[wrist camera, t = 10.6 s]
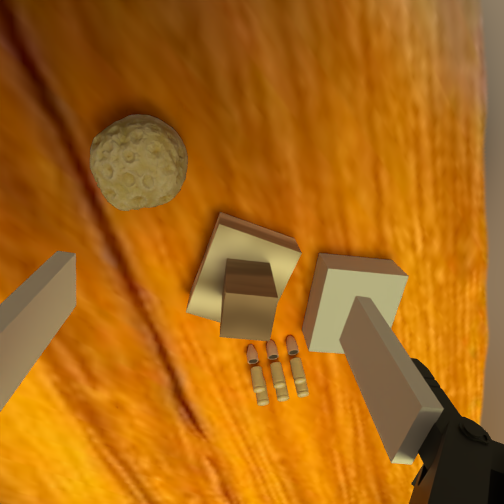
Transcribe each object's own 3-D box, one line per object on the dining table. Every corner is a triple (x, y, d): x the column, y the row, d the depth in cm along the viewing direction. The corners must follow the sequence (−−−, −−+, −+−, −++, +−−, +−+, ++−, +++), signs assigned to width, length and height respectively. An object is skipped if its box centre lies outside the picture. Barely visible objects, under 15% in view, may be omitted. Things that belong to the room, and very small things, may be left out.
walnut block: (226, 258, 40) (225, 292, 33) (269, 262, 41) (278, 297, 33) (221, 296, 42) (219, 336, 35) (263, 300, 43) (269, 341, 35)
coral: (185, 112, 38) (175, 114, 31) (193, 195, 42) (186, 214, 35) (98, 115, 38) (69, 118, 31) (115, 199, 42) (92, 219, 35)
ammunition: (310, 399, 49) (300, 354, 46) (258, 410, 50) (245, 366, 47) (304, 374, 54) (294, 332, 51) (256, 385, 54) (244, 343, 51)
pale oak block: (220, 211, 43) (219, 224, 39) (294, 237, 45) (301, 253, 41) (190, 291, 47) (185, 312, 43) (259, 313, 49) (262, 334, 45)
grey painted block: (318, 252, 46) (328, 268, 41) (391, 259, 47) (408, 276, 42) (301, 328, 51) (308, 351, 46) (368, 333, 52) (381, 356, 47)
